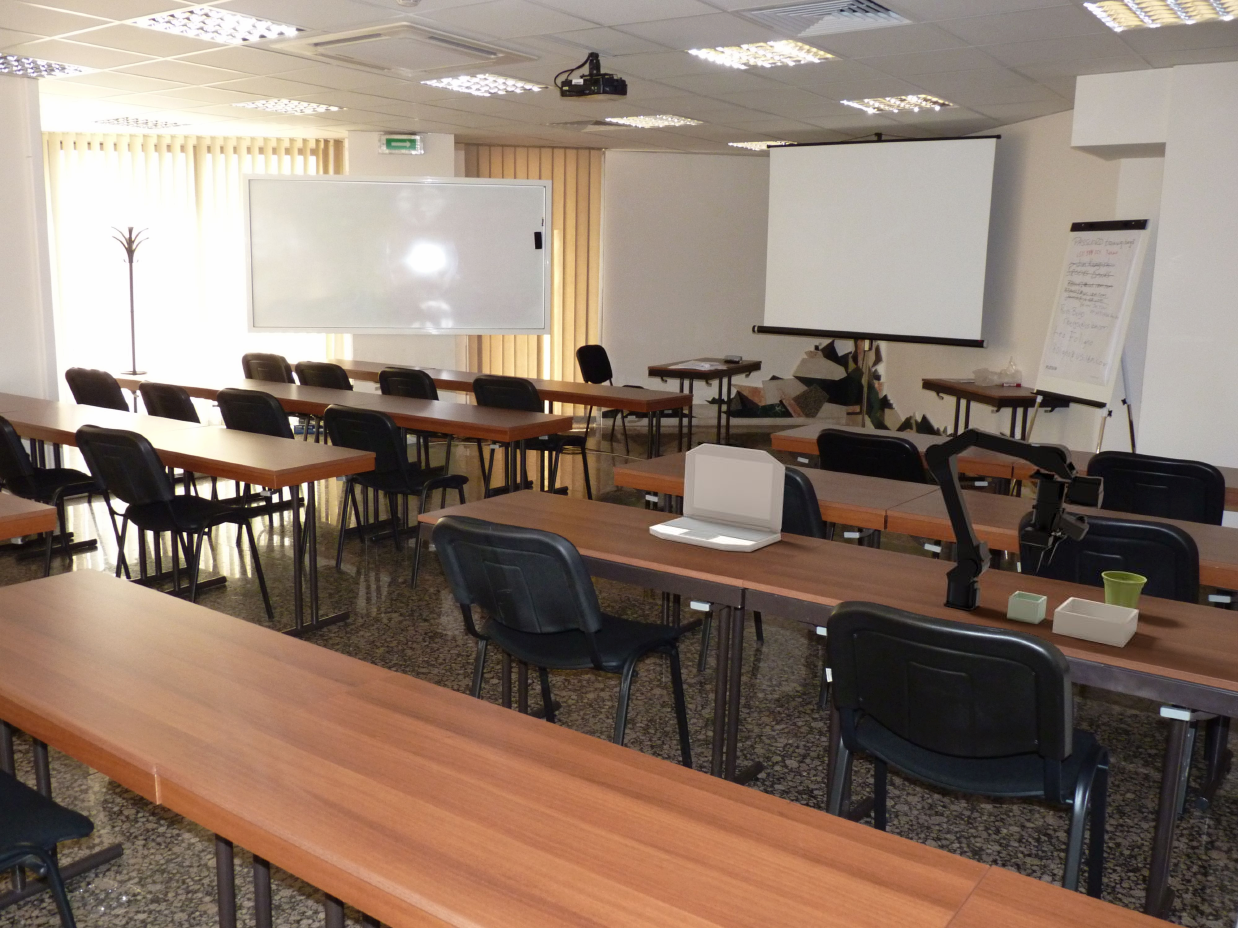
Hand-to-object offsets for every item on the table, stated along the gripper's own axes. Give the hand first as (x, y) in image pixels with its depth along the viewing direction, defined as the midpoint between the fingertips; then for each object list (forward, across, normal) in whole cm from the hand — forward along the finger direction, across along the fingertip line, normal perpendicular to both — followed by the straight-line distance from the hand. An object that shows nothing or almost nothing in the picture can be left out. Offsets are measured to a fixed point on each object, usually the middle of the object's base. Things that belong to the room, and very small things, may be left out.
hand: (1039, 568), depth 224 cm
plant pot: (+12, +21, -14) cm, 28 cm away
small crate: (+12, 0, +2) cm, 12 cm away
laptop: (+16, +16, +96) cm, 99 cm away
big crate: (+12, 0, -13) cm, 17 cm away
